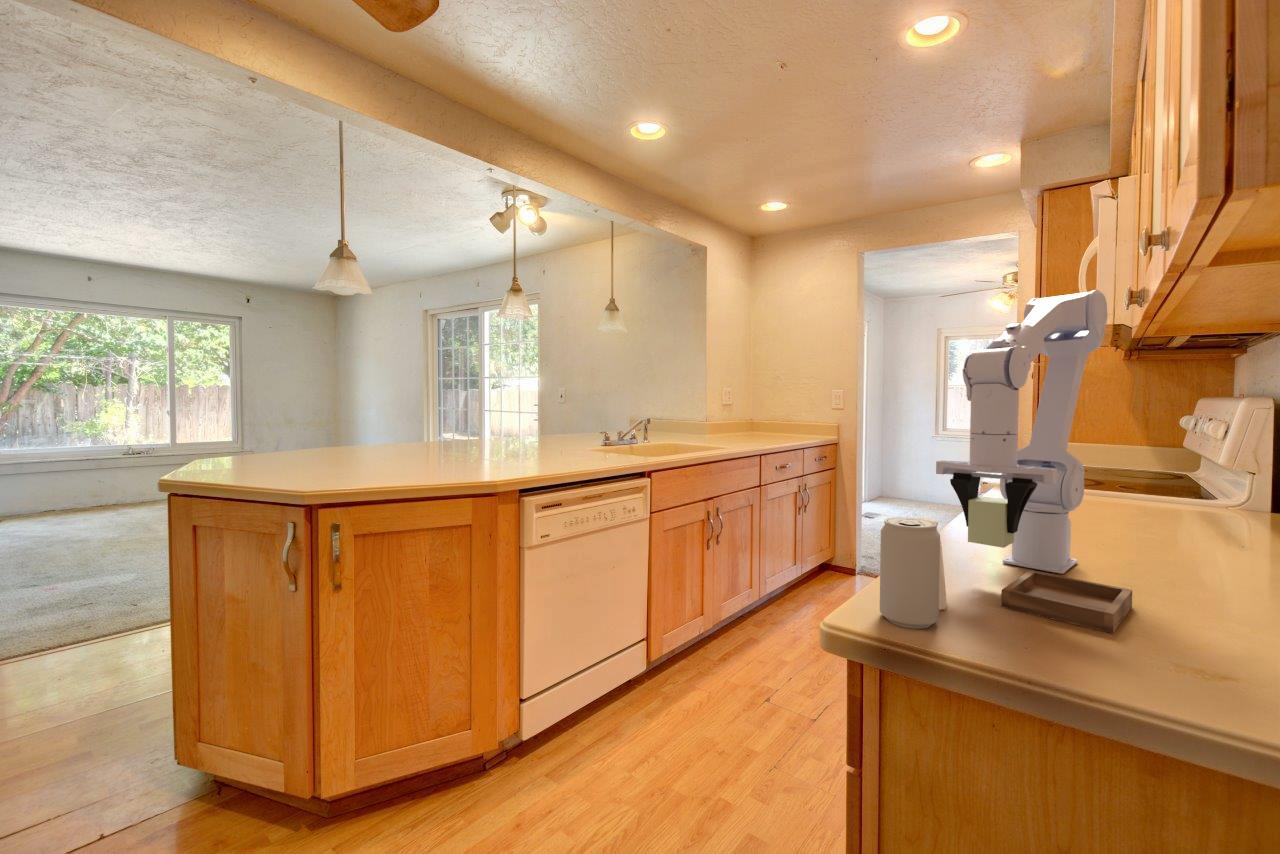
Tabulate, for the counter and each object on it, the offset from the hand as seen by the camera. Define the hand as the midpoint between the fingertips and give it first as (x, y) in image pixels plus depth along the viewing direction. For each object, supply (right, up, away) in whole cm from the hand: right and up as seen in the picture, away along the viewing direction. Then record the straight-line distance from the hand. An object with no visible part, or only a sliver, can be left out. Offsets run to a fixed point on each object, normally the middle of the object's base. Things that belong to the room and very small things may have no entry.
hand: (991, 528), depth 80 cm
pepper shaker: (-13, -9, -7) cm, 17 cm away
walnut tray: (+4, -8, -9) cm, 13 cm away
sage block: (0, -2, 0) cm, 2 cm away
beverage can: (-18, -9, -13) cm, 24 cm away
